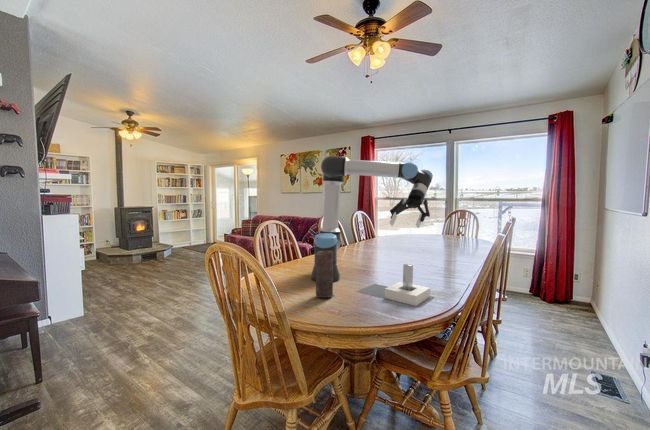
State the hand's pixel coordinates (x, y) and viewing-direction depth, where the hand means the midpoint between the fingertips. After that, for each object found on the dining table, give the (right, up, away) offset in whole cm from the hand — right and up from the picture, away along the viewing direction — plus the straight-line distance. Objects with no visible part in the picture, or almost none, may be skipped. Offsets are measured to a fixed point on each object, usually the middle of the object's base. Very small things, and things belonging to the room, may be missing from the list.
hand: (403, 225), depth 146 cm
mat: (-7, -31, -12) cm, 34 cm away
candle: (-38, -31, -15) cm, 51 cm away
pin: (-3, -30, -16) cm, 34 cm away
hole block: (-3, -30, -16) cm, 35 cm away
